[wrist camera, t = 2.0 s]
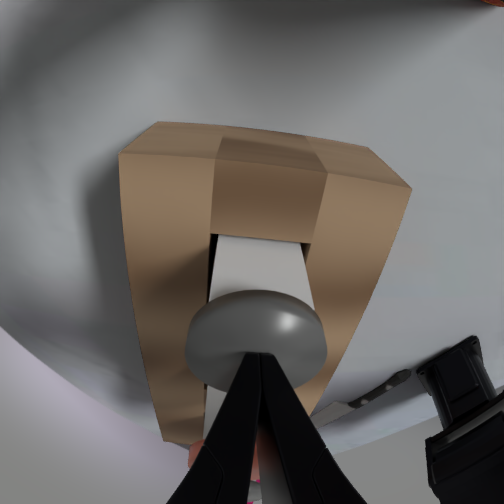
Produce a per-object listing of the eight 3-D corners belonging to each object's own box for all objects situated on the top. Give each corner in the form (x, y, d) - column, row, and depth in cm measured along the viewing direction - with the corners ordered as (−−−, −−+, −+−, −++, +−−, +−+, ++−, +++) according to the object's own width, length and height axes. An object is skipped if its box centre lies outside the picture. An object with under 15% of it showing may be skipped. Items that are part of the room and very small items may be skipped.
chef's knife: (255, 437, 33) (275, 444, 34) (254, 446, 32) (275, 452, 33) (394, 356, 24) (411, 367, 25) (397, 366, 23) (415, 377, 24)
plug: (290, 278, 16) (307, 398, 11) (205, 270, 16) (186, 390, 10) (308, 201, 14) (346, 315, 8) (210, 190, 14) (182, 302, 8)
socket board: (285, 400, 27) (288, 449, 23) (171, 391, 26) (163, 441, 22) (368, 147, 14) (412, 188, 10) (157, 121, 14) (118, 153, 10)
